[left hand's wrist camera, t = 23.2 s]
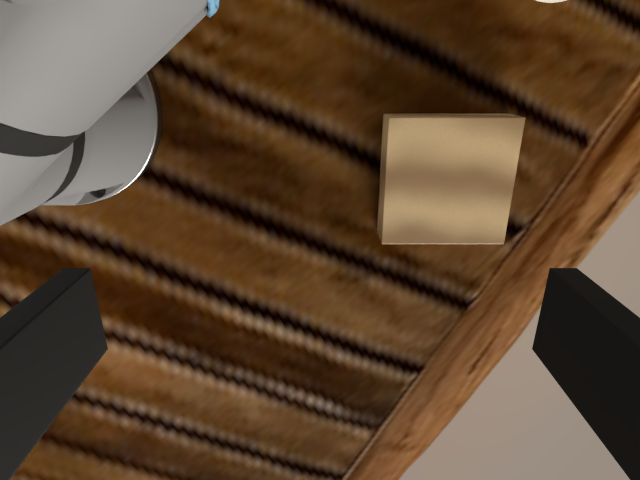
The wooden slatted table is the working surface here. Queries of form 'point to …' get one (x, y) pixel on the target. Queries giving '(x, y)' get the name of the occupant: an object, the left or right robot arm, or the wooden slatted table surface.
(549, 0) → the toy wooden mallet
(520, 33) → the wooden slatted table surface
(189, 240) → the wooden slatted table surface
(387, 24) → the wooden slatted table surface
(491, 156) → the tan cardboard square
